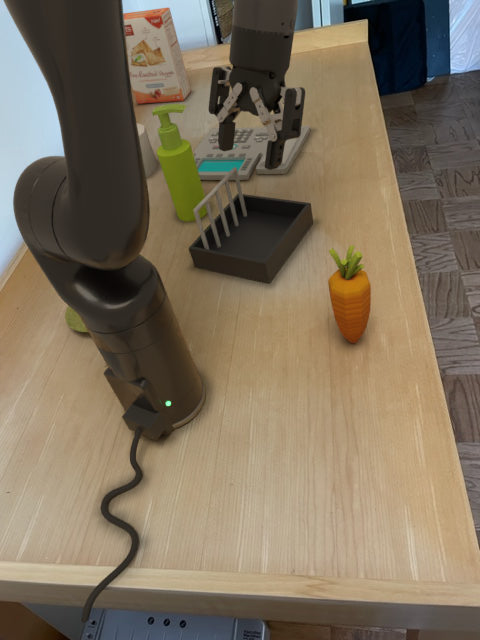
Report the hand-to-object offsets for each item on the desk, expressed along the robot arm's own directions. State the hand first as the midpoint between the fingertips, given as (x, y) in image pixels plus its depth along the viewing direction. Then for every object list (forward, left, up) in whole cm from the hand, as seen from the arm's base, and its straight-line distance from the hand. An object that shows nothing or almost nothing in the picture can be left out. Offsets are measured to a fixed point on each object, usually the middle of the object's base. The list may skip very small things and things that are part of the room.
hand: (248, 159), depth 73 cm
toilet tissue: (+19, +44, -18) cm, 51 cm away
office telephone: (+30, +21, -18) cm, 41 cm away
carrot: (-12, -19, -18) cm, 29 cm away
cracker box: (+54, +60, -18) cm, 83 cm away
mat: (-19, +19, -18) cm, 32 cm away
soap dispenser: (+9, +20, -18) cm, 28 cm away
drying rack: (+3, +4, -18) cm, 18 cm away
